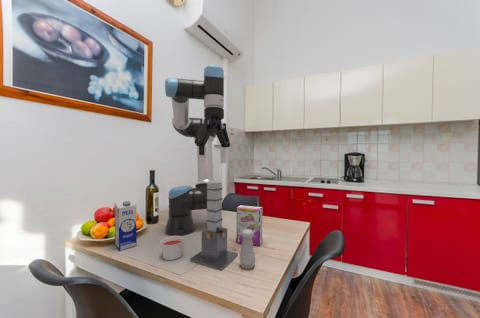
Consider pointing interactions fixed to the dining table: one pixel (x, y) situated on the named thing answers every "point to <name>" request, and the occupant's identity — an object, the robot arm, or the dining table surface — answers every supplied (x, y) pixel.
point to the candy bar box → (249, 223)
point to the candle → (172, 247)
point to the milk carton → (125, 224)
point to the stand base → (214, 250)
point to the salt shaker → (247, 250)
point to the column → (214, 207)
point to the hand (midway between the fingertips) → (214, 163)
